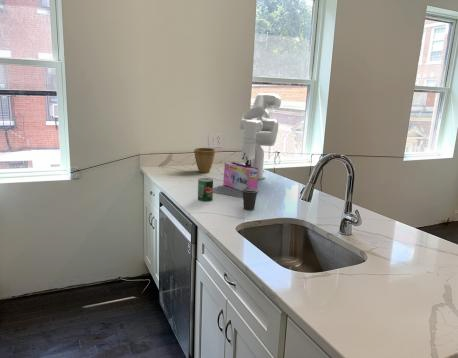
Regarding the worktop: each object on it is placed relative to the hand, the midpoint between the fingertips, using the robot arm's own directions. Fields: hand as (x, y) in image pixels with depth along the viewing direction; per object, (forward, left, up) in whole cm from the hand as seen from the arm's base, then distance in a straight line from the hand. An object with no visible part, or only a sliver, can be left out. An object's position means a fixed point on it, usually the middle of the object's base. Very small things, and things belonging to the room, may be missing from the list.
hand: (247, 170), depth 235 cm
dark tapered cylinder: (+43, +23, -9) cm, 49 cm away
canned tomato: (+43, -3, -9) cm, 44 cm away
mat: (+21, 0, -9) cm, 23 cm away
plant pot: (-15, -42, -9) cm, 46 cm away
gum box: (+10, 0, -9) cm, 13 cm away
